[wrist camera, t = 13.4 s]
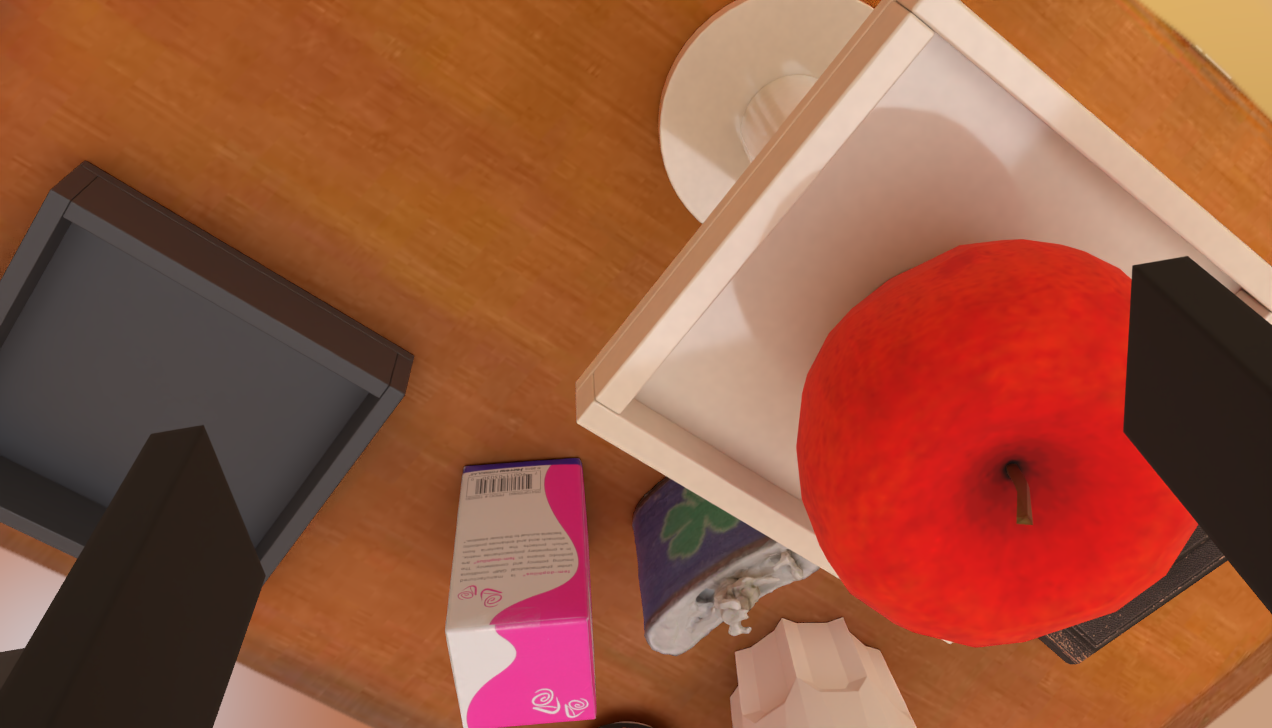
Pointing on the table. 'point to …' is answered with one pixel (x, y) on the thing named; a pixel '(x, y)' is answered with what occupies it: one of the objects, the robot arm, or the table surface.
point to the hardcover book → (1138, 602)
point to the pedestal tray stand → (851, 220)
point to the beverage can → (625, 725)
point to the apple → (985, 448)
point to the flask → (702, 567)
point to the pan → (172, 368)
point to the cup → (815, 681)
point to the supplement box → (522, 596)
